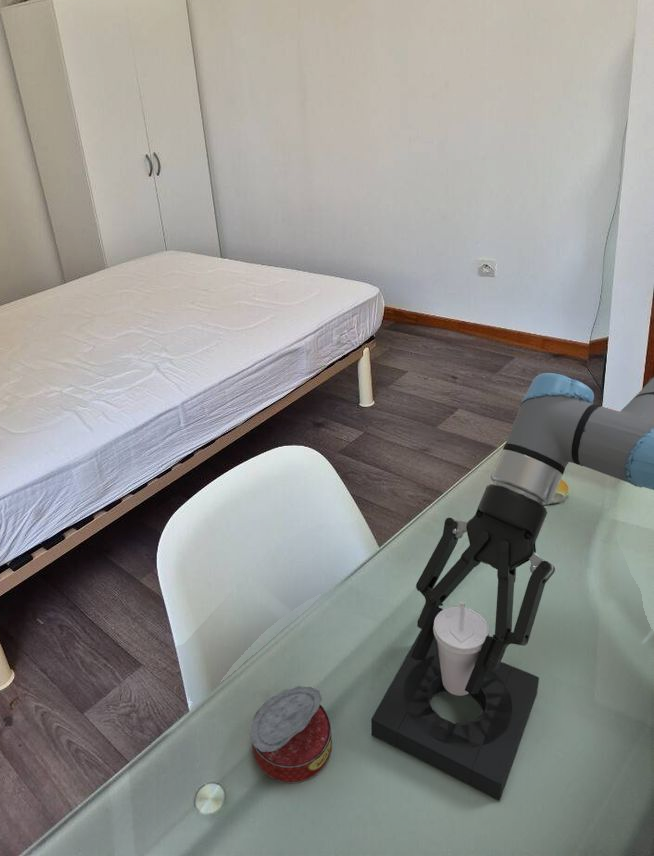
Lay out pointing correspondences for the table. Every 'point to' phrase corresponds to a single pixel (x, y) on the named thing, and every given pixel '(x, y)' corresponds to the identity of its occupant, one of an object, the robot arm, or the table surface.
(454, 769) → the socket pad
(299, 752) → the canned food
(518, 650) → the table surface
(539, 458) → the robot arm
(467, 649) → the smoothie
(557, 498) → the bread roll
